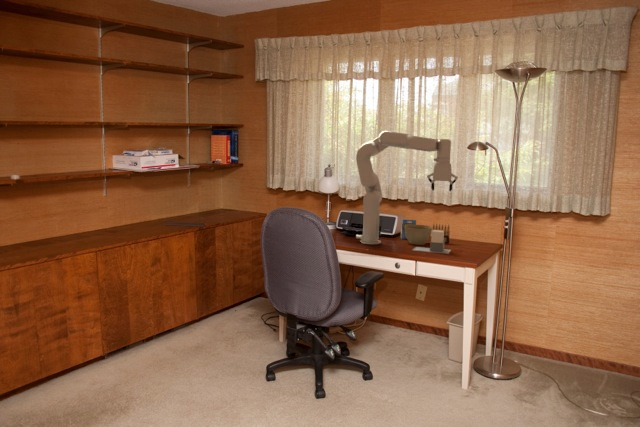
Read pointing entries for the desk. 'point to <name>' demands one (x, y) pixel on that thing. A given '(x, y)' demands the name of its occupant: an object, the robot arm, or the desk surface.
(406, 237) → the label tape box
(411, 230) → the planter bowl
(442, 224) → the ammunition clip
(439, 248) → the charcoal base block
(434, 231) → the cream block
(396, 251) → the desk surface
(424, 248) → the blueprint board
